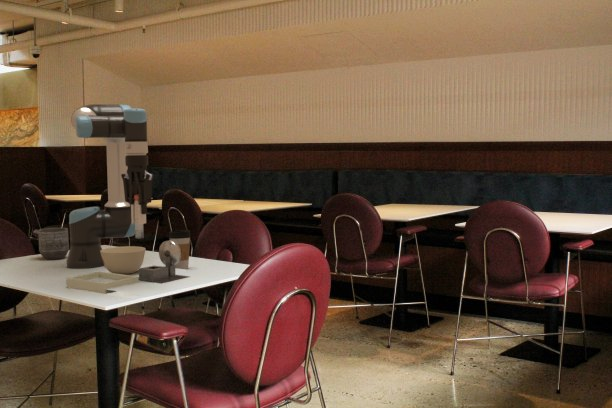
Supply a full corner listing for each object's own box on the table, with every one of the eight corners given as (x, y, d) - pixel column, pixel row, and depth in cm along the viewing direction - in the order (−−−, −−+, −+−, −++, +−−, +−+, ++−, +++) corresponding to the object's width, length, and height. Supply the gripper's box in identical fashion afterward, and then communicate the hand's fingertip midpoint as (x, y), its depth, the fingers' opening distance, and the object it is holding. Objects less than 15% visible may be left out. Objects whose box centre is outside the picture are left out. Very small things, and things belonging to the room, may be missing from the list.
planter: (33, 259, 293) (31, 230, 292) (53, 255, 304) (52, 227, 303) (55, 261, 288) (53, 231, 287) (75, 256, 299) (74, 228, 298)
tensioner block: (129, 283, 237) (127, 243, 236) (159, 276, 249) (157, 238, 247) (161, 287, 228) (160, 246, 227) (191, 280, 240) (189, 241, 238)
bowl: (142, 279, 243) (141, 252, 242) (96, 281, 242) (95, 253, 241) (149, 271, 259) (148, 245, 258) (106, 273, 258) (105, 246, 257)
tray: (66, 287, 231) (66, 277, 231) (100, 280, 243) (99, 271, 242) (105, 293, 220) (105, 283, 220) (138, 286, 231) (138, 276, 231)
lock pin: (133, 238, 233) (132, 195, 232) (139, 237, 236) (138, 194, 234) (139, 238, 232) (137, 195, 230) (145, 237, 234) (144, 194, 233)
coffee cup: (186, 271, 260) (185, 231, 258) (166, 270, 261) (164, 231, 260) (194, 267, 268) (193, 229, 267) (174, 266, 269) (173, 229, 268)
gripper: (111, 154, 232) (114, 223, 234) (145, 154, 224) (147, 225, 226) (128, 154, 239) (131, 221, 241) (161, 154, 230) (163, 223, 232)
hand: (138, 223), depth 233 cm, fingers closed on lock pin, 3 cm apart
